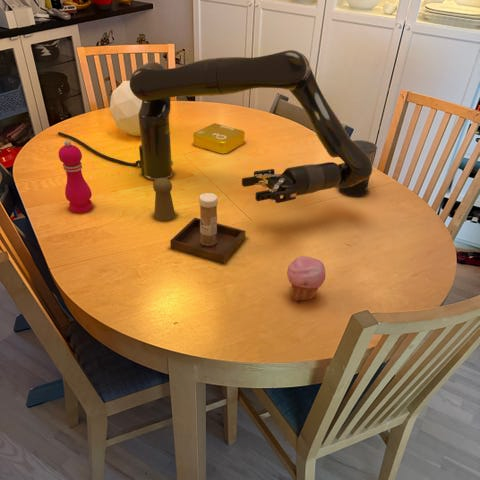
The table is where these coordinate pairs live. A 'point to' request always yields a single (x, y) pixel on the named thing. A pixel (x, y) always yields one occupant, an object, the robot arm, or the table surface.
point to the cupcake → (305, 277)
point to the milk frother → (362, 187)
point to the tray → (219, 252)
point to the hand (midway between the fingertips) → (249, 189)
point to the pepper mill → (75, 179)
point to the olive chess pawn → (163, 200)
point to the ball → (125, 109)
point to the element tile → (219, 138)
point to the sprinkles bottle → (208, 219)
